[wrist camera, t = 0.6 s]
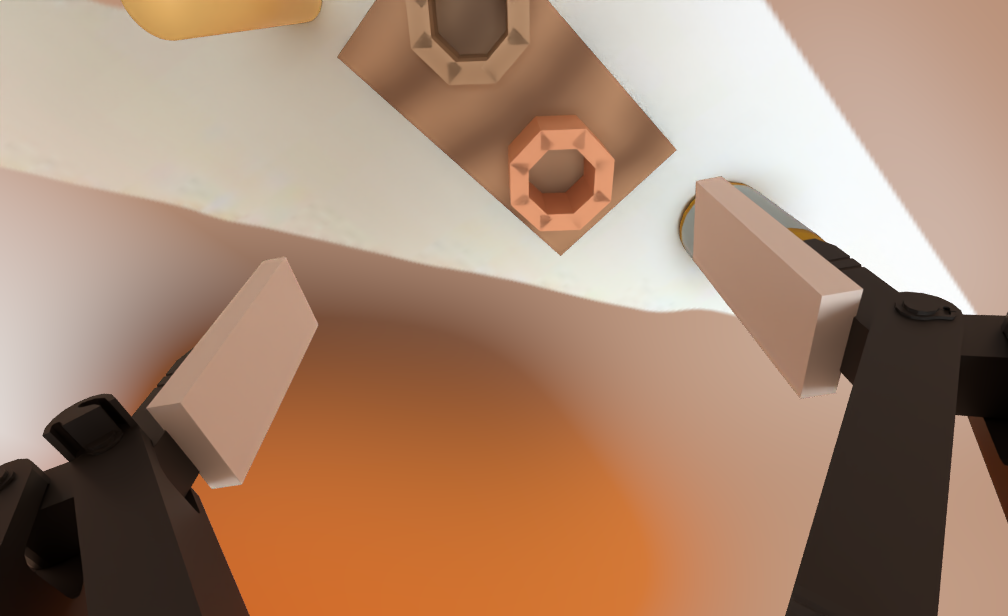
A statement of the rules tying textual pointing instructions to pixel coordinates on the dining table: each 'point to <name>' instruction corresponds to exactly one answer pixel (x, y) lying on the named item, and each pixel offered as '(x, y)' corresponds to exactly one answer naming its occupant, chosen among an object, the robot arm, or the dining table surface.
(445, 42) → the bead beech
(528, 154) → the bead rust
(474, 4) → the lacing board
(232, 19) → the dowel
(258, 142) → the dining table surface
